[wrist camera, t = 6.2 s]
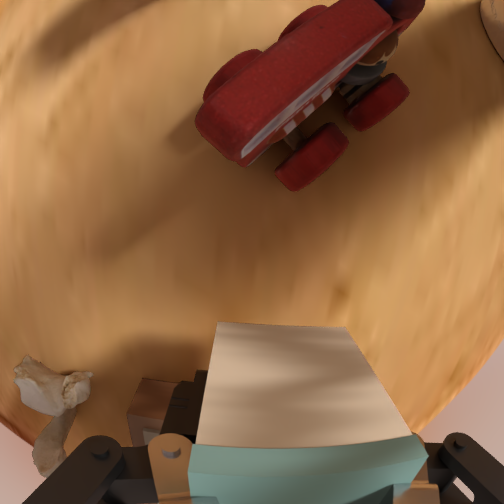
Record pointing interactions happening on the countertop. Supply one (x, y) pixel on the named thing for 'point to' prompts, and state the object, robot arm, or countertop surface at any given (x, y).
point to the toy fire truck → (308, 86)
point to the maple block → (297, 421)
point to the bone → (51, 407)
